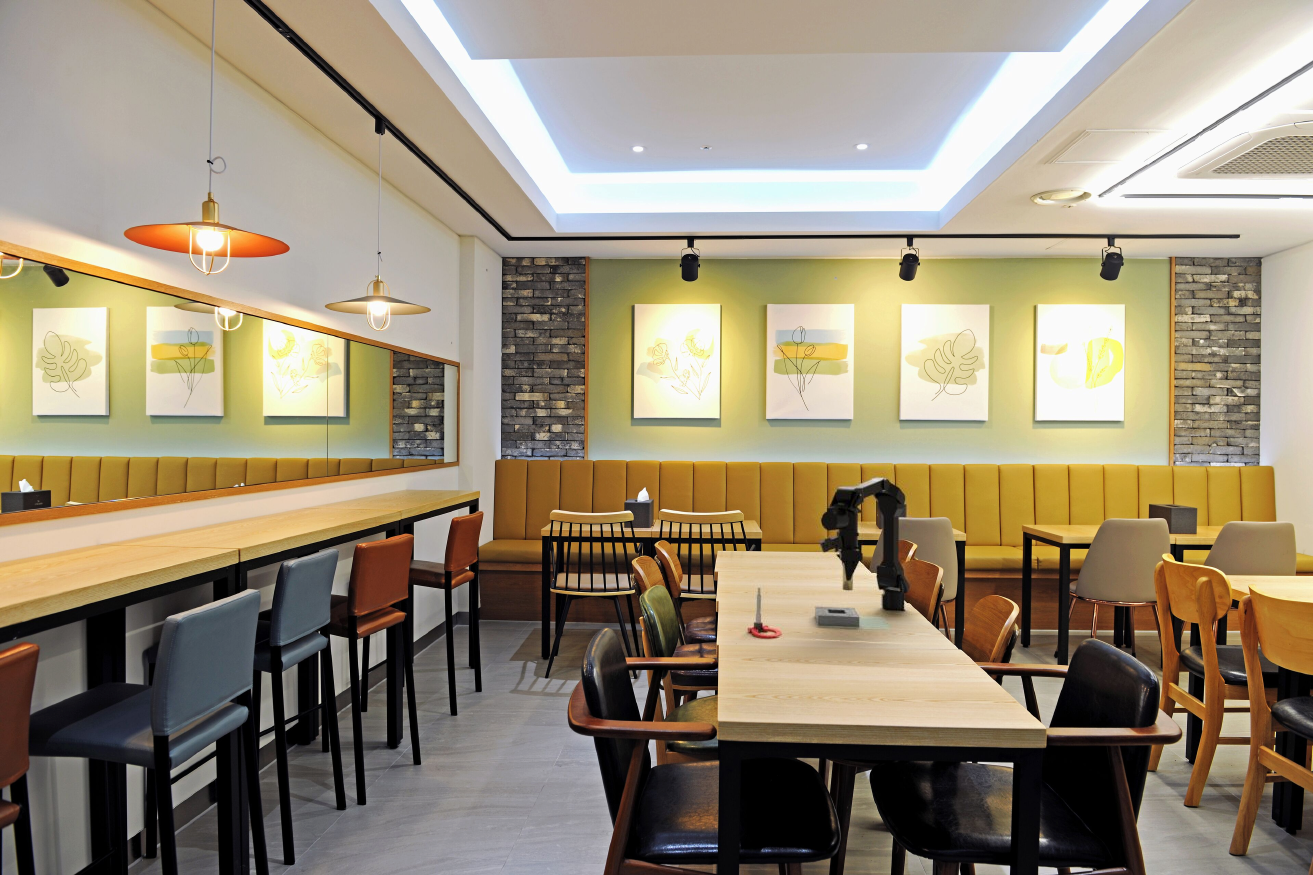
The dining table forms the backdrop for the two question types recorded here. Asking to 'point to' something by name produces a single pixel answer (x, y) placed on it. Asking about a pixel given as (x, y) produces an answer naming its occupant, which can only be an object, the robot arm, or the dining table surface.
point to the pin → (847, 584)
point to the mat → (868, 623)
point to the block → (836, 616)
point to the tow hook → (759, 625)
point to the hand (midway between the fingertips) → (847, 579)
